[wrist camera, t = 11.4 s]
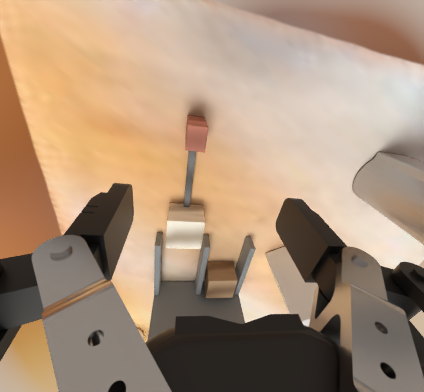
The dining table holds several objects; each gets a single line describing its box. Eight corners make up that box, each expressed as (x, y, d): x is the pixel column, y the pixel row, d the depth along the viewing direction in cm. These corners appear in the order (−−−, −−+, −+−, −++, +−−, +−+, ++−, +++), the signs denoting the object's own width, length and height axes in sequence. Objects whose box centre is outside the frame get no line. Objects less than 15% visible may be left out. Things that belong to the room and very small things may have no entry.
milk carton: (264, 252, 45) (307, 352, 29) (295, 242, 44) (356, 339, 28) (271, 270, 49) (312, 368, 33) (299, 261, 48) (356, 356, 32)
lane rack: (157, 232, 39) (144, 303, 27) (250, 236, 42) (275, 301, 30) (156, 283, 47) (146, 355, 35) (234, 283, 50) (249, 349, 38)
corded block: (174, 113, 28) (171, 122, 23) (216, 119, 29) (223, 129, 24) (168, 228, 39) (165, 252, 33) (199, 229, 40) (200, 253, 34)
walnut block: (206, 261, 45) (208, 281, 41) (232, 261, 46) (237, 280, 42) (204, 278, 48) (205, 298, 44) (228, 277, 49) (232, 297, 45)
